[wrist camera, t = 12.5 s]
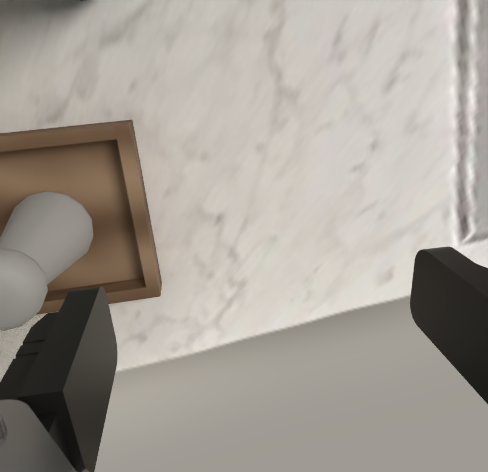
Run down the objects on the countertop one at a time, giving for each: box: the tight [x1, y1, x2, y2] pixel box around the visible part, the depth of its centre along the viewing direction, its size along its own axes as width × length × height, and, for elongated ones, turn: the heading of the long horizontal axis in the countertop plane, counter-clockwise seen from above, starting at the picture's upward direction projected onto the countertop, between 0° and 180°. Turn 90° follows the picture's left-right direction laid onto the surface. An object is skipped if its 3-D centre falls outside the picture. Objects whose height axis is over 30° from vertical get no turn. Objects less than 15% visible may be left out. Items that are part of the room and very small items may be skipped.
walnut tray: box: [0, 120, 162, 314], centre depth 33 cm, size 14×14×2 cm
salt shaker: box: [0, 191, 93, 330], centre depth 27 cm, size 6×6×13 cm
